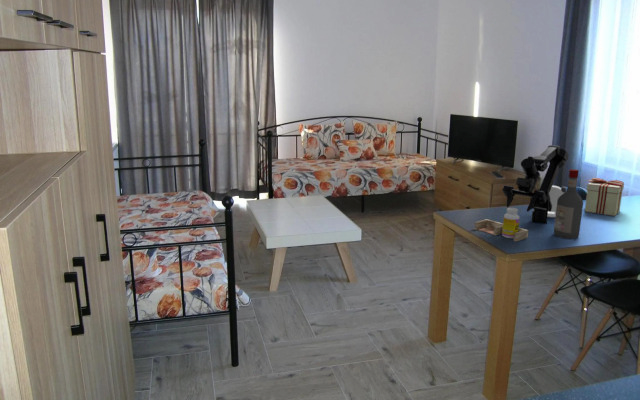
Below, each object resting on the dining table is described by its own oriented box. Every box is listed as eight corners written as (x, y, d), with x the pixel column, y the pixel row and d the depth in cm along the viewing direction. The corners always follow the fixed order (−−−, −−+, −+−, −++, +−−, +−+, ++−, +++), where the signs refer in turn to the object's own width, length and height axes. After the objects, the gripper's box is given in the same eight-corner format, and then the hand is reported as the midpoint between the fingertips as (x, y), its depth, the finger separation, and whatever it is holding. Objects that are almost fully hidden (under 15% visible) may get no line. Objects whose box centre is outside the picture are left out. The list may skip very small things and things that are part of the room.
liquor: (566, 239, 234) (575, 172, 227) (550, 234, 242) (557, 168, 235) (581, 237, 238) (590, 171, 230) (565, 231, 246) (573, 167, 238)
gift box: (620, 209, 285) (625, 177, 281) (618, 217, 270) (622, 183, 265) (585, 204, 294) (589, 173, 289) (581, 212, 279) (585, 179, 274)
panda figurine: (563, 213, 276) (567, 184, 273) (562, 218, 267) (565, 189, 263) (538, 210, 282) (542, 182, 278) (536, 215, 272) (539, 186, 268)
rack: (527, 237, 237) (528, 230, 236) (516, 241, 232) (516, 233, 231) (486, 226, 254) (486, 219, 253) (474, 229, 248) (475, 222, 248)
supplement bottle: (515, 239, 234) (518, 211, 231) (500, 237, 237) (502, 209, 234) (519, 235, 239) (521, 208, 236) (503, 233, 243) (506, 206, 239)
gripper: (506, 167, 245) (492, 195, 240) (547, 173, 232) (534, 202, 227) (511, 182, 252) (499, 209, 247) (552, 188, 240) (539, 216, 235)
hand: (517, 209), depth 239 cm, fingers open, 9 cm apart
